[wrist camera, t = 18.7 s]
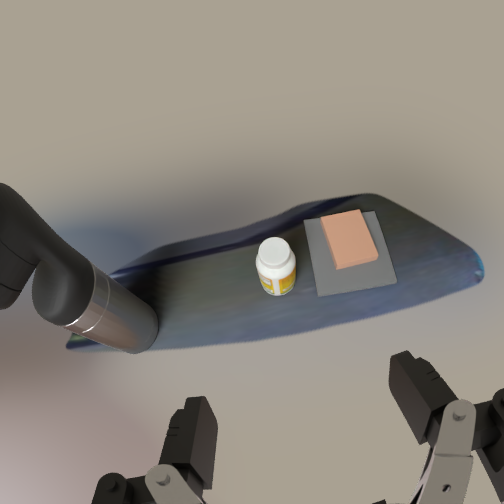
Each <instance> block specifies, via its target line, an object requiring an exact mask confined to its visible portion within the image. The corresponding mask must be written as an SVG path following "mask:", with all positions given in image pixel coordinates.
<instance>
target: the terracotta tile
mask: <svg viewBox="0 0 504 504" xmlns="http://www.w3.org/2000/svg"><path fill="white" fill-rule="evenodd" d="M320 223H321V226H322V229H323V232H324V235H325V238H326V241H327V244H328V247H329V250H330V253H331V256H332V259H333V262H334V265H335V268H336V270H338V269H342V268H346V267H350V266H354V265H359V264H363V263H367V262H370V261H374V260H377V258H378V256H379V255H378V252H377V250H376V247H375V245H374V242H373V240H372V237H371V235H370V233H369V230H368V228H367V226H366V223H365V221H364V219H363V216H362V214H361V212H360V210H354V211H349V212H344V213H339V214H334V215H329V216H324V217H321V220H320Z"/></svg>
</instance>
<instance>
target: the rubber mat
mask: <svg viewBox="0 0 504 504" xmlns="http://www.w3.org/2000/svg"><path fill="white" fill-rule="evenodd" d="M361 214H362V216H363V219H364V221H365V223H366V226H367V228H368V230H369V233H370V235H371V237H372V240H373V242H374V245H375V247H376V250H377V252H378V255H379V256H378V258H377V260H374V261H370V262H367V263H363V264H359V265H354V266H350V267H346V268H342V269H338V270H336V268H335V265H334V262H333V259H332V256H331V253H330V250H329V247H328V244H327V241H326V238H325V235H324V232H323V229H322V226H321V223H320V220H321V218H317V219H309V220H304V226H305V231H306V236H307V241H308V246H309V251H310V256H311V261H312V266H313V272H314V277H315V283H316V289H317V294H318V297H321V296H327V295H333V294H340V293H346V292H352V291H358V290H363V289H369V288H374V287H380V286H385V285H391V284H396V283H397V279H396V276H395V272H394V269H393V265H392V262H391V259H390V255H389V252H388V249H387V246H386V243H385V240H384V237H383V234H382V231H381V228H380V225H379V222H378V219H377V217H376V214H375V211H372V212H364V213H361Z"/></svg>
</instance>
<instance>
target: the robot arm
mask: <svg viewBox="0 0 504 504" xmlns="http://www.w3.org/2000/svg"><path fill="white" fill-rule="evenodd" d="M35 268H36V270H35ZM34 270H35V275H34V279H33V284H32V299H33V304H34V307H35V309H36V311H37V313H38V314H39V315H40V316H41V317H42V318H43V319H45V320H47V321H49V322H51V323H53V324H55V325H57V326H60V327H62V328H64V329H67V330H69V331H71V332H74V333H76V334H79V335H81V336H83V337H86V338H88V339H91V340H94V341H96V342H99V343H101V344H104V345H107V346H109V347H112V348H115V349H118V350H121V351H124V352H127V353H130V354H137V353H141V352H143V351H145V350H147V349H148V348H149V347H150V346H151V345H152V344H153V342H154V340H155V338H156V336H157V333H158V319H157V315H156V313H155V311H154V310H153V309H152V307H150V306H149V305H148V304H146V303H145V302H144V301H142V300H141V299H139V298H138V297H137V296H135V295H134V294H132V293H131V292H130V291H128V290H127V289H126V288H124V287H123V286H122V285H120V284H119V283H117V282H116V281H115V280H113V279H112V278H111V277H109V276H108V275H107V274H106V273H104V272H103V271H101V270H100V269H99V268H98V267H96V266H95V265H94V264H93V263H91V262H90V261H89V260H88V259H86V258H85V257H84V256H83V255H81V254H80V253H79V252H78V251H76V250H75V249H74V248H72V247H71V246H70V245H68V243H66V242H65V241H64V240H63V239H62V238H61V237H59V235H57V234H56V232H54V230H53V229H51V227H50V226H49V225H48V224H47V223H46V222H45V221H44V220H43V219H42V218H41V217H40V216H39V215H38V214H37V213H36V211H34V209H33V208H32V207H31V206H30V205H29V204H28V203H27V202H26V201H25V200H24V199H23V198H22V197H21V196H20V195H19V194H18V193H17V192H16V191H15V190H13V189H12V188H11V187H9V186H7V185H6V184H3V183H0V310H2V309H6V308H8V307H10V306H11V305H12V304H13V303H14V302H15V301H16V299H17V298H18V296H19V295H20V293H21V291H22V289H23V288H24V286H25V284H26V283H27V281H28V279H29V278H30V276H31V274H32V273H33V271H34ZM389 387H390V391H391V393H392V395H393V397H394V399H395V400H396V402H397V404H398V406H399V407H400V409H401V411H402V413H403V415H404V416H405V418H406V420H407V422H408V424H409V426H410V428H411V430H412V432H413V433H414V435H415V437H416V439H417V441H418V443H419V444H420V445H421V444H423V443H425V442H427V441H428V443H429V445H430V448H429V451H428V454H427V457H426V461H425V464H424V467H423V470H422V473H421V476H420V478H419V481H418V484H417V486H416V488H415V490H414V492H413V495H412V497H411V499H410V501H409V503H408V504H463V501H464V498H465V494H466V491H467V486H468V483H469V478H470V474H471V469H472V465H473V456H471V451H473V450H476V452H477V454H478V456H479V458H480V460H481V462H482V464H483V466H484V468H485V470H486V472H487V474H488V476H489V478H490V480H491V482H492V484H493V486H494V488H495V490H496V492H497V495H498V497H499V500H500V502H501V504H504V388H503V389H500V390H499V391H497V392H496V393H495V395H494V396H493V399H492V400H490V401H487V402H483V403H479V404H472V403H471V402H469V401H467V400H459V399H458V398H457V397H456V395H455V394H454V393H453V391H452V390H451V389H450V388H449V386H448V385H447V384H446V382H445V381H444V380H443V379H442V378H441V377H440V375H439V374H438V372H436V371H435V369H434V367H433V366H432V365H431V364H430V362H428V361H426V360H424V359H422V358H421V357H419V358H417V359H415V358H414V357H413V356H412V355H411V353H410V352H409V351H407V350H406V351H404V352H401V353H398V354H395V355H393V356H391V358H390V371H389ZM217 432H218V425H217V420H216V418H215V416H214V413H213V412H212V409H211V407H210V405H209V403H208V401H207V399H206V397H205V396H200V397H189V398H187V399H186V402H185V406H184V409H178V410H177V411H176V412H175V414H174V415H173V416H172V418H171V420H170V424H169V429H168V431H167V434H166V435H167V436H166V438H165V442H164V446H163V449H162V453H161V457H160V460H159V464H158V465H157V466H154V467H153V468H151V469H150V470H149V471H148V472H147V474H146V475H145V476H140V477H135V478H129V479H125V478H124V477H123V476H122V475H121V474H118V473H108V474H106V475H104V476H103V477H101V479H100V480H99V481H98V484H97V487H96V490H95V494H94V497H93V500H92V503H91V504H207V502H206V501H205V500H204V499H203V498H202V494H203V489H212V481H213V471H214V460H215V451H216V441H217ZM373 504H386V501H385V499H384V500H382V501H379V502H376V503H373Z"/></svg>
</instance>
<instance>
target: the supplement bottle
mask: <svg viewBox="0 0 504 504" xmlns="http://www.w3.org/2000/svg"><path fill="white" fill-rule="evenodd" d="M256 266H257V270H258V274H259V277H260V281H261V284H262V286H263V288H264V289H265V290H266V291H267V292H268V293H270V294H272V295H284V294H286V293H287V292H289V291H290V290H291V289H292V288H293V286H294V284H295V279H296V260H295V255H294V253H293V251H292V250H291V249H290V247H289V245H288V243H287V242H286V241H285V240H283V239H281V238H278V237H272V238H268V239H266V240H265V241H264V242H263V243H262V244H261V245H260V247H259V253H258V255H257V258H256Z"/></svg>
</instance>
